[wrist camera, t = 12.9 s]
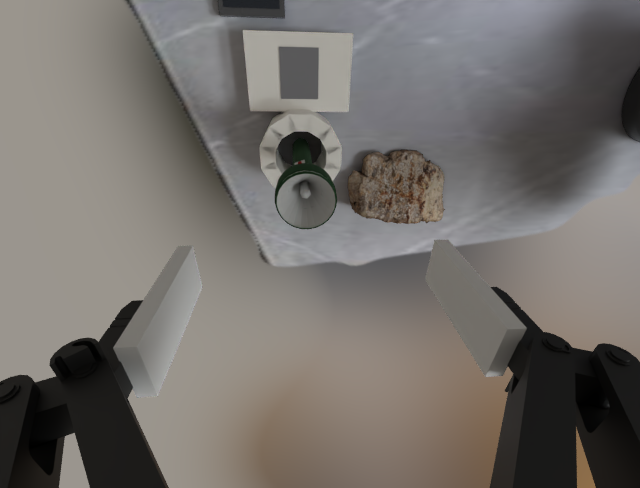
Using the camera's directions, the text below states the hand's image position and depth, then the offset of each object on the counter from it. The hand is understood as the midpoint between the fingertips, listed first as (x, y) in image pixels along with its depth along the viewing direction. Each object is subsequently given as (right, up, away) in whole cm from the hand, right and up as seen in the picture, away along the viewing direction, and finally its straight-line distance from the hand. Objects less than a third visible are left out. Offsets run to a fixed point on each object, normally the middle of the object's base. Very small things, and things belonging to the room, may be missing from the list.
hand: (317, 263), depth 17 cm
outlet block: (-2, +18, +23) cm, 29 cm away
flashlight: (-3, +15, +25) cm, 29 cm away
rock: (+12, +10, +29) cm, 33 cm away
